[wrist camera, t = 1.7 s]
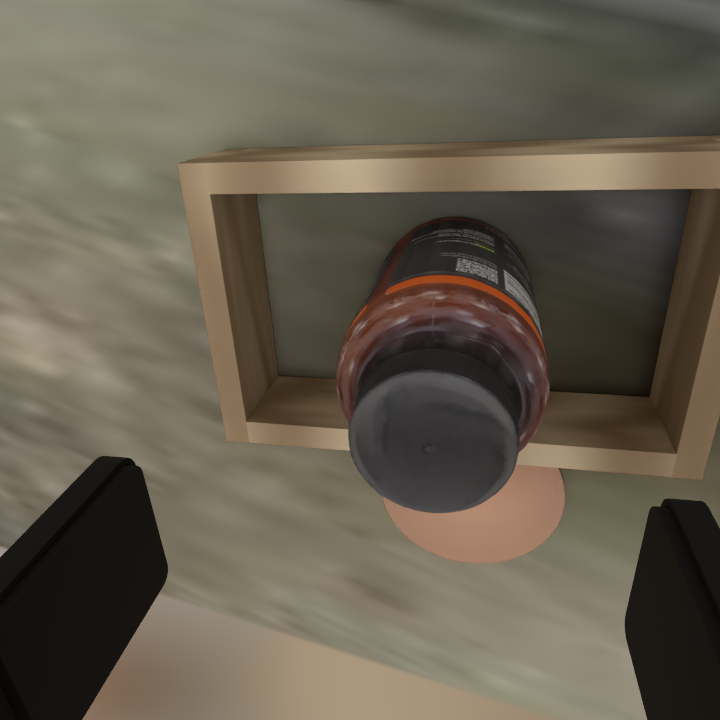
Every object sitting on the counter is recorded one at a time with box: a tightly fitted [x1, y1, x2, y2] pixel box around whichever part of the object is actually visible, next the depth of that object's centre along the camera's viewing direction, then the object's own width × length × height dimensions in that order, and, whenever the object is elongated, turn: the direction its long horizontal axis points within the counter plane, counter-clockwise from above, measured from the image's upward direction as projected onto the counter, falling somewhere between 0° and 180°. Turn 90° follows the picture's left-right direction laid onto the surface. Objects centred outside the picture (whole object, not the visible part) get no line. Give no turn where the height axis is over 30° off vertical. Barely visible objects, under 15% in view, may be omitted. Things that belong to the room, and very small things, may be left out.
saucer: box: [382, 464, 565, 564], centre depth 27 cm, size 8×8×1 cm
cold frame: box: [177, 135, 720, 480], centre depth 21 cm, size 18×11×4 cm, turn 93°
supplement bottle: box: [336, 218, 550, 513], centre depth 18 cm, size 6×6×11 cm
